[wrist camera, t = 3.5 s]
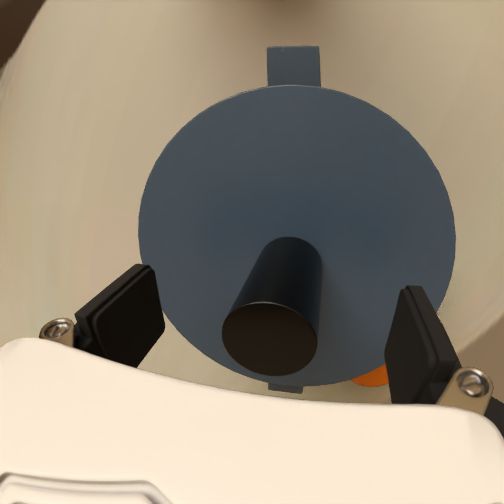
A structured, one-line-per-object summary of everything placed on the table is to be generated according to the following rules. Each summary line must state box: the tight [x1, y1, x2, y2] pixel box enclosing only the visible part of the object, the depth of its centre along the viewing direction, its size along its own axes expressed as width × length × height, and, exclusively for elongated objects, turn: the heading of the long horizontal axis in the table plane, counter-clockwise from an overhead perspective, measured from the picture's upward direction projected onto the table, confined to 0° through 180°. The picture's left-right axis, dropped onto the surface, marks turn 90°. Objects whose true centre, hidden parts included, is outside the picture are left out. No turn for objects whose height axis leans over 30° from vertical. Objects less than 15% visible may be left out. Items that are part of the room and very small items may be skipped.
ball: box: [351, 364, 389, 387], centre depth 23 cm, size 6×6×6 cm
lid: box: [138, 85, 456, 386], centre depth 12 cm, size 16×16×7 cm
